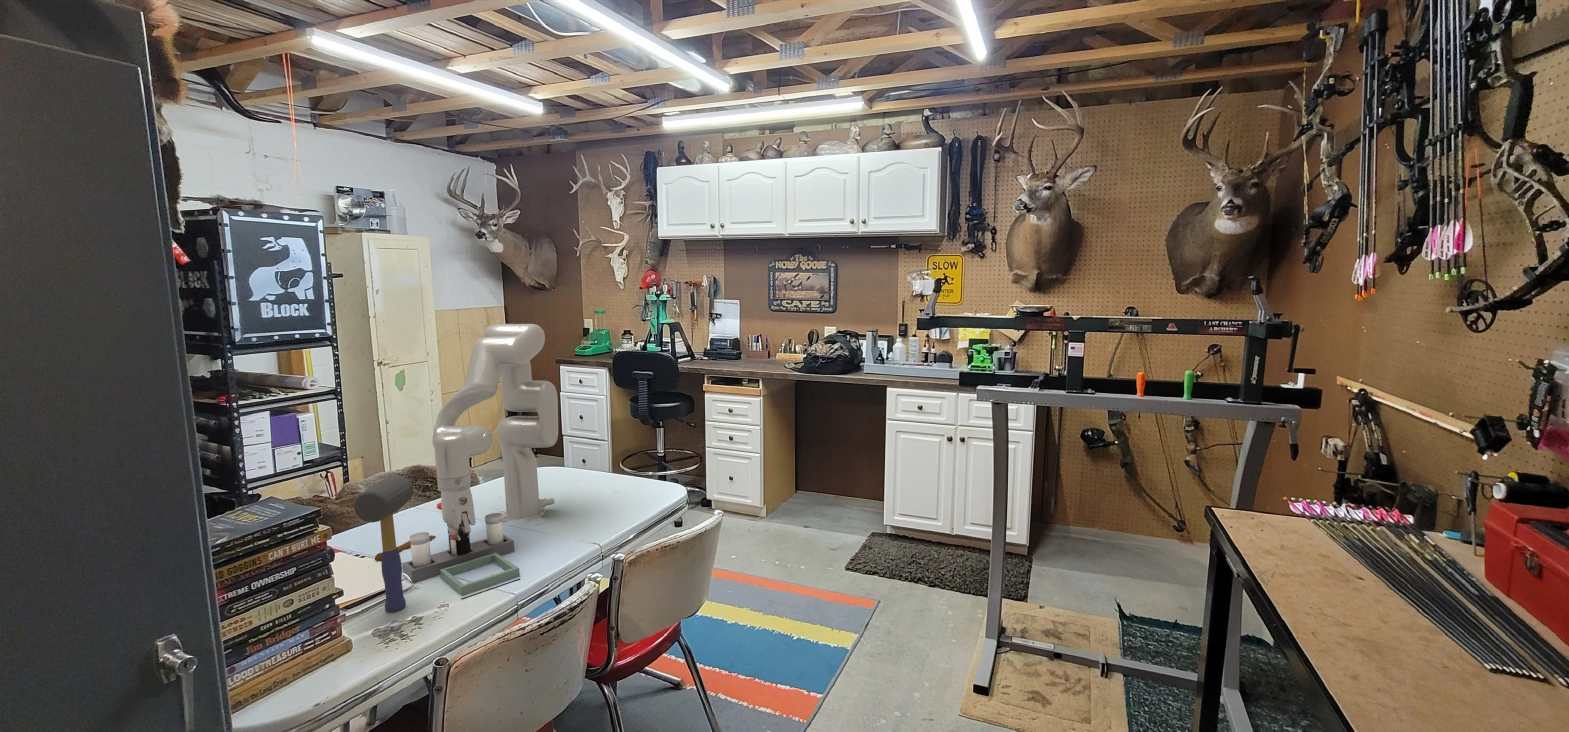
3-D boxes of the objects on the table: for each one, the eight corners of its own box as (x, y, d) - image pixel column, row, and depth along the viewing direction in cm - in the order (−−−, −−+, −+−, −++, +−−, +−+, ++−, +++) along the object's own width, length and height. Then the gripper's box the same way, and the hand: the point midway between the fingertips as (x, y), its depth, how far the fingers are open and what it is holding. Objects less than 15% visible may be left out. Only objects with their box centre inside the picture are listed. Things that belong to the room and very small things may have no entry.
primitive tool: (420, 537, 188) (419, 525, 188) (438, 538, 188) (437, 526, 187) (372, 566, 169) (371, 553, 169) (392, 567, 169) (391, 554, 168)
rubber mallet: (392, 599, 150) (380, 473, 146) (426, 597, 151) (415, 472, 147) (362, 628, 138) (348, 491, 134) (399, 626, 139) (386, 489, 135)
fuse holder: (503, 547, 179) (502, 533, 178) (514, 554, 174) (513, 540, 174) (403, 578, 161) (402, 562, 161) (412, 587, 157) (411, 571, 156)
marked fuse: (466, 557, 171) (463, 520, 169) (472, 562, 168) (469, 524, 166) (449, 562, 168) (446, 525, 166) (455, 567, 165) (452, 529, 163)
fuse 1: (429, 568, 164) (425, 530, 163) (435, 573, 161) (431, 535, 160) (410, 574, 161) (407, 535, 160) (416, 579, 158) (412, 540, 157)
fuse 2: (500, 547, 177) (498, 511, 176) (507, 551, 174) (504, 515, 173) (485, 551, 174) (482, 515, 173) (491, 556, 171) (488, 519, 170)
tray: (496, 563, 169) (495, 552, 169) (520, 579, 160) (519, 567, 159) (440, 581, 159) (439, 569, 159) (462, 599, 150) (461, 587, 150)
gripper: (483, 485, 162) (488, 555, 164) (457, 472, 173) (462, 538, 176) (451, 492, 156) (457, 565, 159) (426, 478, 168) (432, 546, 170)
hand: (460, 550), depth 167 cm, fingers closed on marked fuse, 4 cm apart
